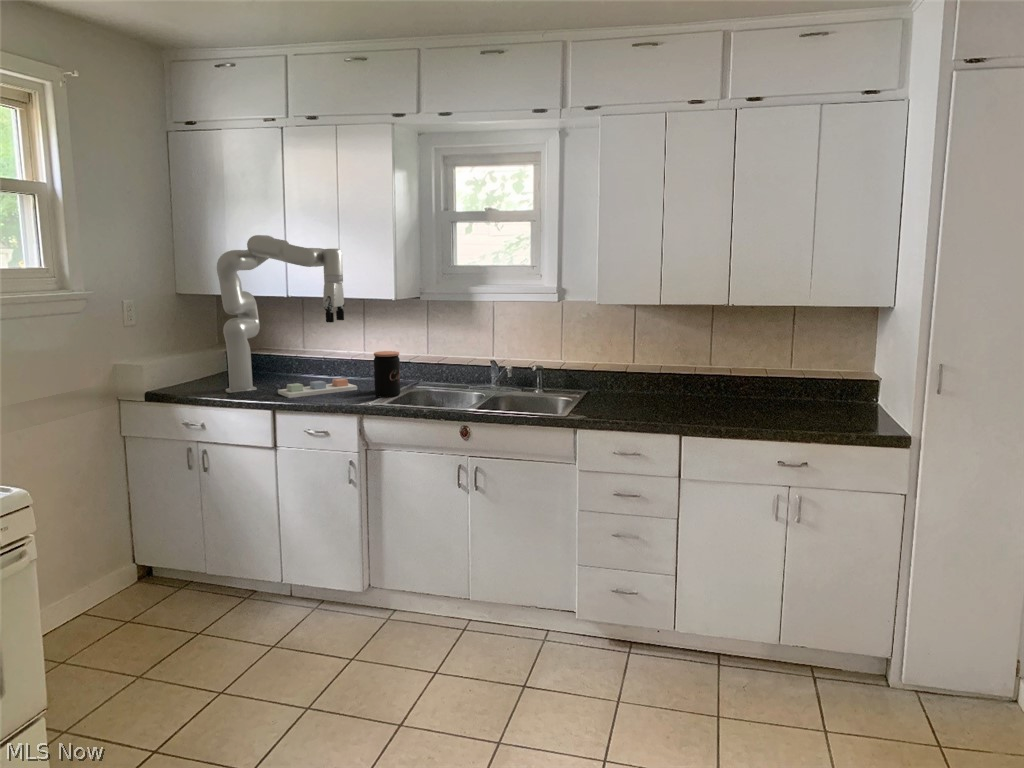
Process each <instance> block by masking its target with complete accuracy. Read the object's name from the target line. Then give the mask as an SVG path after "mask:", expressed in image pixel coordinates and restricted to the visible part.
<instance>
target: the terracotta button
mask: <svg viewBox="0 0 1024 768" xmlns="http://www.w3.org/2000/svg"><path fill="white" fill-rule="evenodd" d="M348 383H349V379H348V378H347V379H346V378H334V379H333V378H332V379H331V384H332V386H335V387H342V386H348Z"/></svg>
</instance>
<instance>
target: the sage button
mask: <svg viewBox="0 0 1024 768" xmlns="http://www.w3.org/2000/svg"><path fill="white" fill-rule="evenodd" d="M303 387H304V384H302V383H299V382H297V383H296V382H295V383H288V384H286V389H287V391H289V392H299V391H303Z"/></svg>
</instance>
